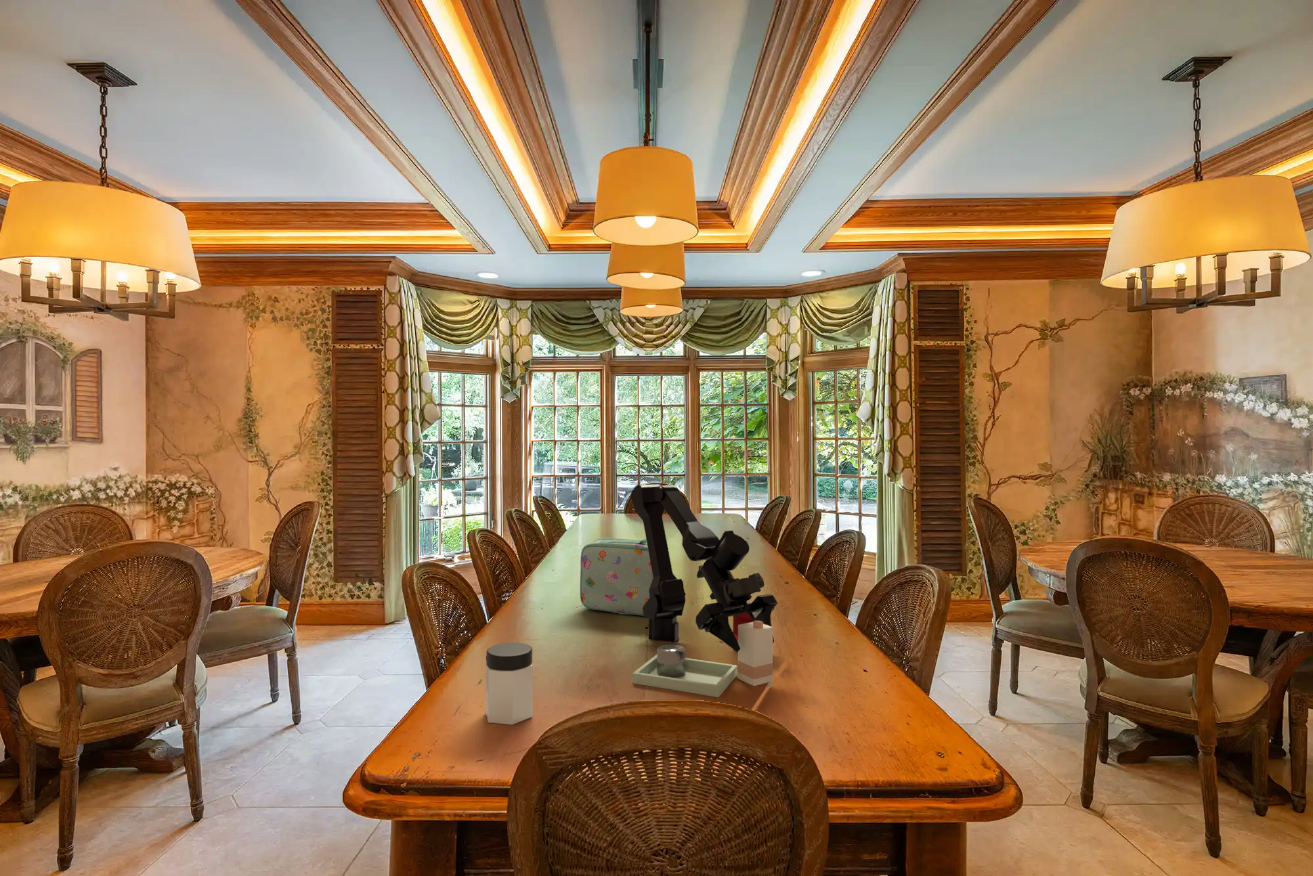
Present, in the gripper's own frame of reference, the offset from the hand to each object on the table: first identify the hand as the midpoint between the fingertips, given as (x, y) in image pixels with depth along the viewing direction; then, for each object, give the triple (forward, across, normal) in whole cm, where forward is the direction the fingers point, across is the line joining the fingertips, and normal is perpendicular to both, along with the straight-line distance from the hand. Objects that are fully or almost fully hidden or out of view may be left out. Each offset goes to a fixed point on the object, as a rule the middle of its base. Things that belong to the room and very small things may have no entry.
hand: (755, 646), depth 139 cm
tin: (-4, -12, +14) cm, 19 cm away
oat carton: (+5, 0, +6) cm, 8 cm away
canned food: (-6, +12, +17) cm, 22 cm away
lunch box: (-39, +7, +50) cm, 64 cm away
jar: (-3, -48, +14) cm, 50 cm away
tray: (0, -12, +11) cm, 16 cm away
